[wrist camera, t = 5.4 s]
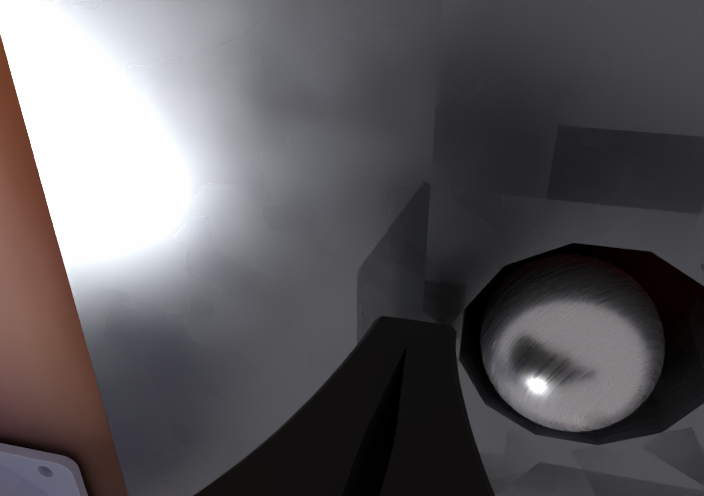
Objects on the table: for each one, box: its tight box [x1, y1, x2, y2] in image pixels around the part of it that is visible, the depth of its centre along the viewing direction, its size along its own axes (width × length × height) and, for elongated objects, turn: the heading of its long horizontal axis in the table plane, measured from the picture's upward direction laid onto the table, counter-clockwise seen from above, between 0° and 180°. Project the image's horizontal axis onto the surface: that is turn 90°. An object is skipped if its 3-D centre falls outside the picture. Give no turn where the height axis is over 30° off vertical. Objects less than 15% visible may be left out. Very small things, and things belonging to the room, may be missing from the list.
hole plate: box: [0, 0, 704, 496], centre depth 14 cm, size 15×15×2 cm
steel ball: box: [480, 254, 665, 432], centre depth 13 cm, size 3×3×3 cm
